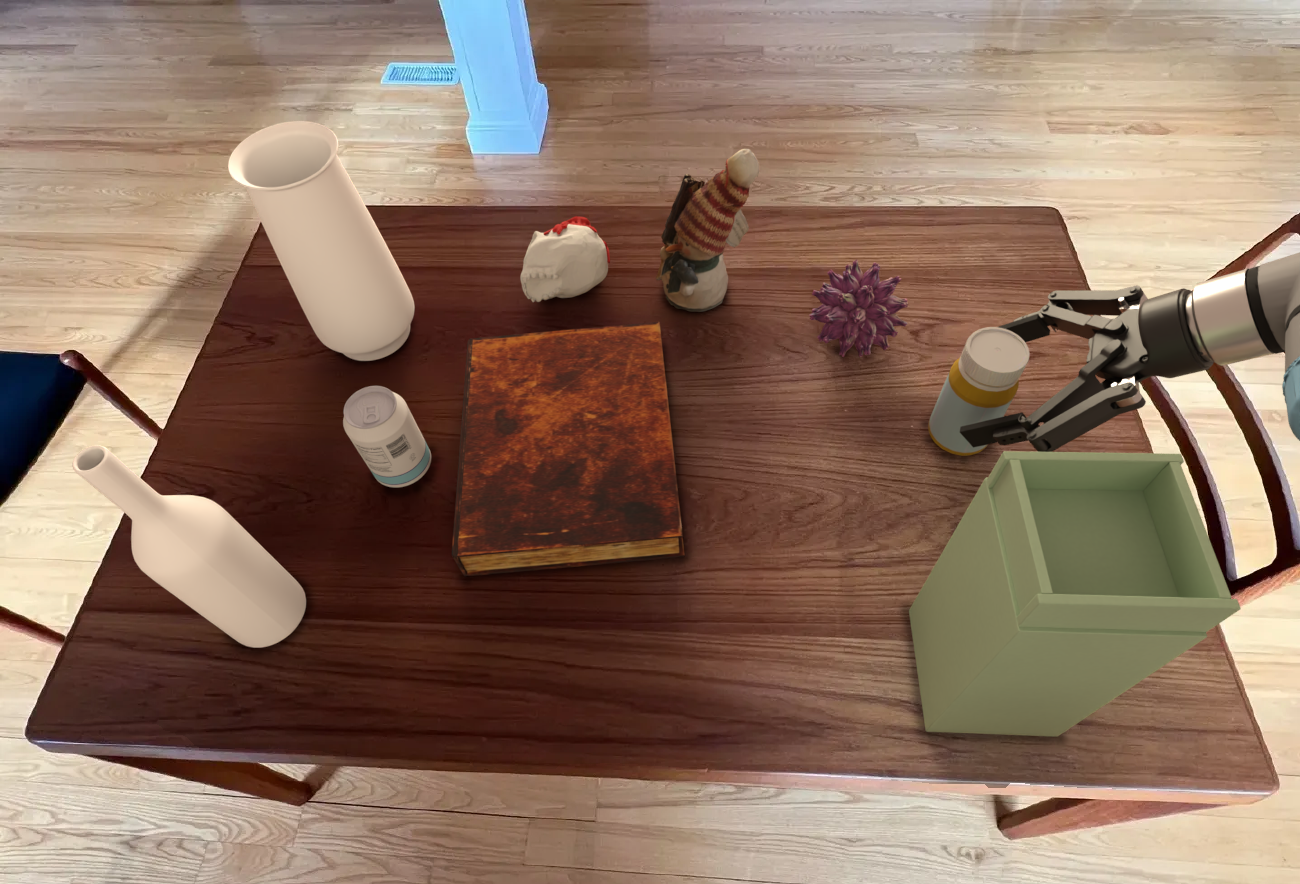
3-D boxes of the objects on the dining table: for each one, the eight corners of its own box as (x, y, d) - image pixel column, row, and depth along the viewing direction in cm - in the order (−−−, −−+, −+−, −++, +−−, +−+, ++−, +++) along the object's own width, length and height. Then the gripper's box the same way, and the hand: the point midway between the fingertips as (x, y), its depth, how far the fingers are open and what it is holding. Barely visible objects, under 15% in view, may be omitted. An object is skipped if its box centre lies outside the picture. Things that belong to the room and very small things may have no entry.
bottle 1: (238, 580, 86) (53, 420, 61) (312, 572, 86) (157, 409, 61) (222, 652, 82) (15, 511, 57) (301, 644, 82) (128, 499, 57)
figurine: (669, 245, 112) (665, 119, 96) (756, 258, 110) (767, 130, 94) (645, 313, 105) (636, 189, 89) (738, 328, 103) (746, 204, 86)
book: (476, 364, 102) (466, 338, 98) (662, 348, 102) (660, 321, 98) (462, 576, 85) (450, 556, 81) (684, 556, 85) (683, 535, 81)
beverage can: (432, 437, 96) (401, 375, 86) (435, 485, 92) (403, 425, 82) (374, 449, 95) (337, 387, 85) (375, 497, 91) (336, 439, 81)
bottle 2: (934, 460, 90) (972, 378, 78) (920, 411, 94) (954, 325, 82) (996, 456, 90) (1043, 374, 78) (979, 407, 94) (1022, 321, 82)
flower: (791, 340, 103) (857, 284, 105) (859, 393, 97) (928, 333, 99) (783, 284, 94) (856, 223, 95) (858, 339, 88) (934, 274, 89)
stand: (1029, 613, 80) (1180, 449, 55) (1058, 736, 73) (1243, 613, 48) (908, 610, 81) (1002, 447, 56) (925, 731, 74) (1040, 608, 49)
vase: (430, 296, 109) (357, 113, 86) (412, 370, 102) (328, 191, 79) (338, 298, 110) (241, 117, 87) (314, 371, 103) (202, 195, 79)
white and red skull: (525, 317, 105) (540, 250, 115) (609, 316, 104) (617, 249, 114) (512, 261, 98) (530, 195, 108) (602, 260, 98) (612, 193, 108)
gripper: (1220, 465, 65) (977, 502, 81) (1219, 260, 77) (1009, 328, 93) (1182, 409, 62) (937, 459, 78) (1187, 206, 74) (976, 285, 90)
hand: (976, 388), depth 85 cm, fingers open, 13 cm apart
